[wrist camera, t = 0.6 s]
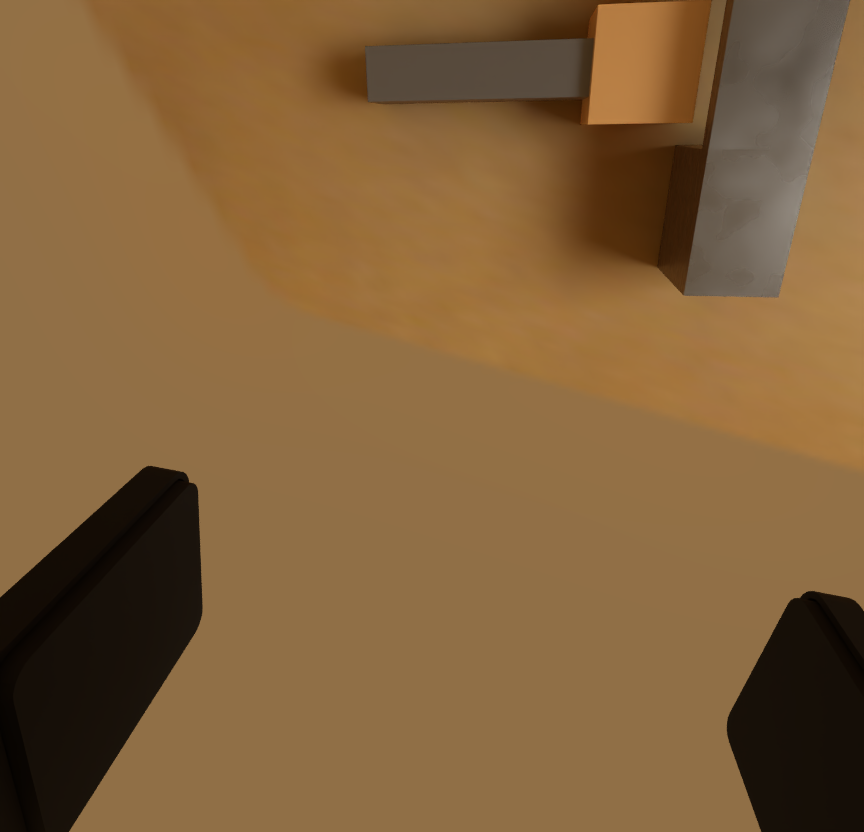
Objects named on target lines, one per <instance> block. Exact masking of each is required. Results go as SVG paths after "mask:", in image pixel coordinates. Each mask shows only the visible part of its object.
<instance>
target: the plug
mask: <svg viewBox="0 0 864 832" xmlns="http://www.w3.org/2000/svg"><path fill="white" fill-rule="evenodd" d="M711 1H712V0H692V1H669V2H646V3H622V4H599V5H598V6H597V8H596V9H595V11H594V13H593V14H592V16H591V18H590V20H589V28H588V38H584V39H556V40H528V41H500V42H472V43H444V44H416V45H388V46H365V55H366V73H367V92H368V102H373V103H379V104H414V103H459V102H504V101H548V100H582V112H581V124H580V125H586V124H645V123H692V122H693V116H694V110H695V103H696V97H697V91H698V84H699V78H700V71H701V65H702V59H703V52H704V46H705V40H706V33H707V27H708V20H709V14H710V8H711Z"/></svg>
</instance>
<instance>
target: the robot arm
mask: <svg viewBox="0 0 864 832" xmlns="http://www.w3.org/2000/svg"><path fill="white" fill-rule="evenodd" d="M201 584H202V583H201V558H200V531H199V506H198V489H197V486H196V485H195V484H194V483H189V479H188V477H187V475H186V474H185V473H184V472H180V471H175V470H169V469H164V468H159V467H153V466H147V467H145V468H143V469H142V470H141V471H140V472H139V473H138V474H136V475H135V476H134V477H133V478H132V479H131V480H130V481H129V482H128V483H126V484H125V485H124V486H123V487H122V488H121V489H120V490H119V491H118V492H117V493H116V494H114V495H113V496H112V497H111V498H110V499H109V500H108V501H107V502H105V503H104V504H103V505H102V506H101V507H100V508H99V509H98V510H97V511H96V512H94V513H93V514H92V515H91V516H90V517H89V518H88V519H87V520H86V521H85V522H83V523H82V524H81V525H80V526H79V527H78V528H77V529H76V530H75V531H73V532H72V533H71V534H70V535H69V536H68V537H67V538H66V539H65V540H64V541H62V542H61V543H60V544H59V545H58V546H57V547H56V548H54V549H53V550H52V551H51V552H50V553H49V554H48V555H47V556H46V557H44V558H43V559H42V560H41V561H40V562H39V563H38V564H37V565H36V566H35V567H34V568H33V569H31V570H30V571H29V572H28V573H27V574H26V575H25V576H23V577H22V578H21V579H20V580H19V581H18V582H17V583H16V584H15V585H14V586H12V587H11V588H10V589H9V590H8V591H7V592H6V593H5V594H4V595H2V596H1V597H0V832H69V831H70V829H71V827H72V826H73V824H74V823H75V821H76V820H77V818H78V816H79V815H80V813H81V812H82V810H83V809H84V807H85V806H86V804H87V802H88V801H89V799H90V798H91V796H92V795H93V793H94V791H95V790H96V788H97V787H98V785H99V784H100V782H101V780H102V779H103V777H104V776H105V774H106V773H107V771H108V769H109V768H110V766H111V765H112V763H113V761H114V760H115V758H116V757H117V755H118V754H119V752H120V750H121V749H122V747H123V746H124V744H125V743H126V741H127V739H128V738H129V736H130V735H131V733H132V732H133V730H134V728H135V727H136V725H137V723H138V722H139V721H140V719H141V717H142V716H143V714H144V713H145V711H146V710H147V708H148V706H149V705H150V703H151V702H152V700H153V698H154V697H155V695H156V694H157V692H158V691H159V689H160V688H161V686H162V684H163V683H164V681H165V680H166V678H167V676H168V675H169V673H170V672H171V670H172V668H173V667H174V665H175V664H176V662H177V661H178V659H179V658H180V656H181V654H182V653H183V651H184V650H185V648H186V647H187V645H188V643H189V642H190V640H191V639H192V637H193V636H194V634H195V632H196V630H197V628H198V626H199V623H200V620H201V616H202V585H201ZM727 735H728V739H729V743H730V745H731V748H732V751H733V754H734V757H735V759H736V762H737V765H738V768H739V770H740V774H741V776H742V779H743V782H744V785H745V787H746V790H747V793H748V796H749V798H750V801H751V804H752V807H753V810H754V812H755V815H756V818H757V821H758V823H759V827H760V829H761V832H864V611H863V609H862V608H861V607H860V605H859V604H858V603H856V601H854V600H852V599H850V598H846V597H841V596H836V595H831V594H825V593H820V592H815V591H808V592H806V593H804V594H803V595H802V596H801V598H794V599H793V600H791V601H790V602H789V604H788V605H787V607H786V609H785V611H784V613H783V614H782V616H781V618H780V620H779V622H778V624H777V626H776V627H775V629H774V631H773V633H772V635H771V637H770V639H769V641H768V643H767V644H766V646H765V648H764V650H763V652H762V654H761V656H760V657H759V659H758V661H757V663H756V665H755V667H754V669H753V671H752V672H751V675H750V676H749V678H748V680H747V682H746V684H745V686H744V687H743V689H742V691H741V693H740V695H739V697H738V699H737V701H736V703H735V704H734V706H733V708H732V710H731V712H730V714H729V717H728V721H727Z"/></svg>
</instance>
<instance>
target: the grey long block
mask: <svg viewBox="0 0 864 832" xmlns="http://www.w3.org/2000/svg"><path fill="white" fill-rule="evenodd" d="M849 2H850V0H727V2H726V8H725V14H724V20H723V26H722V32H721V38H720V44H719V50H718V56H717V62H716V68H715V74H714V80H713V86H712V92H711V98H710V104H709V110H708V116H707V122H706V128H705V134H704V140H703V145H676V146H675V152H674V159H673V166H672V173H671V179H670V186H669V193H668V200H667V206H666V213H665V220H664V227H663V233H662V240H661V247H660V254H659V260H658V268H659V269H660V271H661V272H662V273H663V274H664V275H665V276H666V277H667V278H668V279H669V280H670V281H671V282H672V283H673V285H674V286H675V287H676V288H677V289H678V290H679V291H680V292H681V293H682V294H683V295H685V296H736V297H779V293H780V288H781V284H782V280H783V276H784V272H785V268H786V264H787V259H788V255H789V251H790V247H791V243H792V239H793V234H794V230H795V226H796V222H797V218H798V214H799V210H800V205H801V201H802V197H803V193H804V189H805V185H806V181H807V176H808V172H809V168H810V164H811V160H812V156H813V151H814V147H815V143H816V139H817V135H818V131H819V127H820V122H821V118H822V114H823V110H824V106H825V102H826V98H827V93H828V89H829V85H830V81H831V77H832V73H833V68H834V64H835V60H836V56H837V52H838V48H839V44H840V39H841V35H842V31H843V27H844V23H845V19H846V15H847V10H848V6H849Z"/></svg>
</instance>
